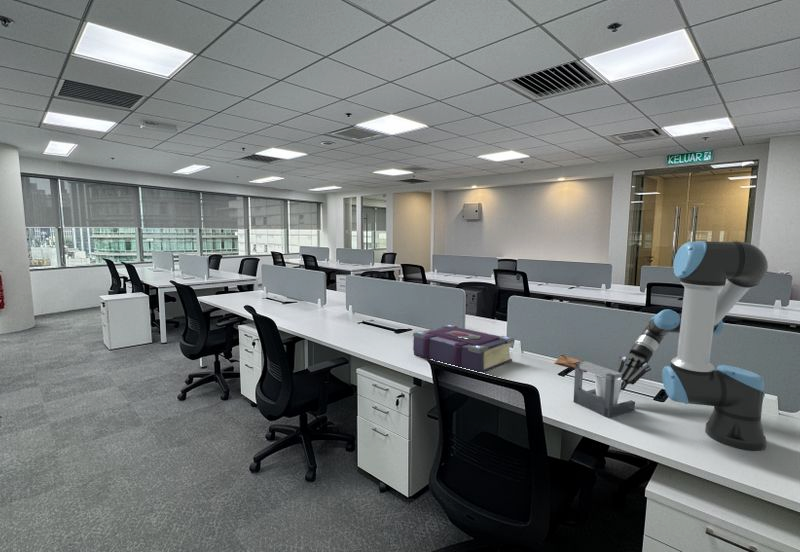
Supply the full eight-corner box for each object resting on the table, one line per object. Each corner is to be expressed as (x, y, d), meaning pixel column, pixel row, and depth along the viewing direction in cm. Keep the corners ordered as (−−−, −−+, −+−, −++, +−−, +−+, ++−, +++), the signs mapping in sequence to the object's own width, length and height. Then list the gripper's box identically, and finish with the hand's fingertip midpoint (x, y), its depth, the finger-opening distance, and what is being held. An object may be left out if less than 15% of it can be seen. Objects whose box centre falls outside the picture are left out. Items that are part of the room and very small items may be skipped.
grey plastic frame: (599, 395, 161) (601, 358, 159) (635, 410, 147) (637, 370, 145) (573, 401, 155) (575, 363, 153) (608, 418, 141) (611, 375, 139)
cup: (593, 407, 149) (595, 377, 148) (593, 399, 157) (595, 370, 156) (620, 412, 145) (622, 382, 144) (619, 403, 153) (621, 374, 152)
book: (476, 376, 184) (477, 347, 182) (410, 355, 216) (410, 330, 215) (513, 361, 206) (514, 335, 205) (447, 344, 239) (448, 322, 238)
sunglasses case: (552, 363, 203) (556, 351, 204) (557, 367, 207) (561, 356, 208) (585, 372, 189) (589, 360, 190) (591, 377, 193) (595, 364, 194)
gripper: (663, 358, 154) (633, 406, 149) (632, 350, 166) (603, 393, 161) (656, 347, 152) (625, 395, 146) (624, 339, 163) (595, 383, 158)
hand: (614, 394), depth 154 cm, fingers closed
